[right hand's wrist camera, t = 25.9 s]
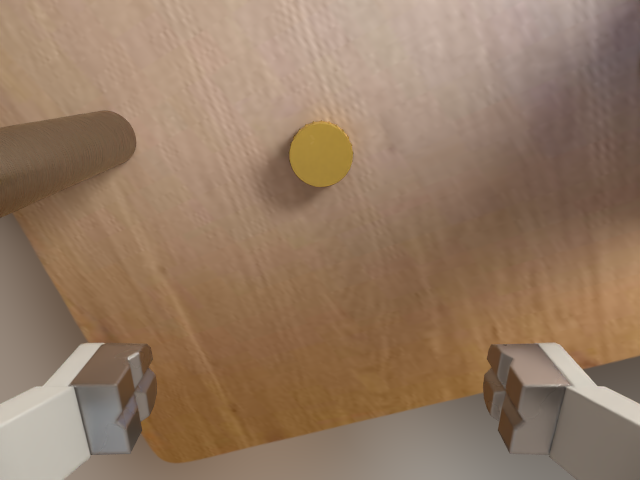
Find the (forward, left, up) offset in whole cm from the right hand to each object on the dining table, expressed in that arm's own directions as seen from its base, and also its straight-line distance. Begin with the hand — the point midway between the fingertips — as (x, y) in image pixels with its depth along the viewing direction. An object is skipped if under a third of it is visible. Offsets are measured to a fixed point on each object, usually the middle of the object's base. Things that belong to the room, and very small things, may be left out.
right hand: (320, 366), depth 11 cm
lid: (0, 0, -29) cm, 29 cm away
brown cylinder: (+14, +12, -30) cm, 36 cm away
